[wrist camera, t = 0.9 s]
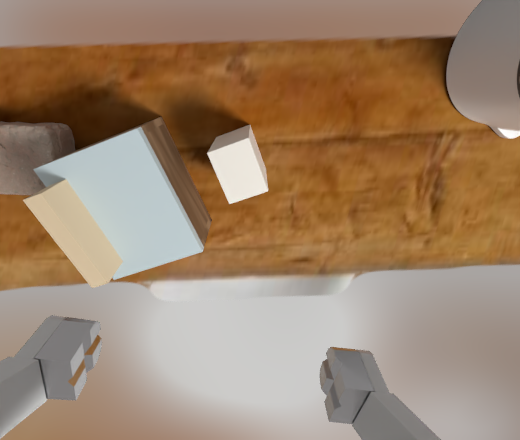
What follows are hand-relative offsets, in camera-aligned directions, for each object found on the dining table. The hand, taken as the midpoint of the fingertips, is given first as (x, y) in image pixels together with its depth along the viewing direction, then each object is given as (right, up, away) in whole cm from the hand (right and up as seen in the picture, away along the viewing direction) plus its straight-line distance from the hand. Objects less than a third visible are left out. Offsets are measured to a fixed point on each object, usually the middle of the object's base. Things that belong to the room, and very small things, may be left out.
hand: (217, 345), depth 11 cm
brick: (-30, +13, +27) cm, 43 cm away
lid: (-13, +6, +23) cm, 27 cm away
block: (-1, +13, +27) cm, 30 cm away
